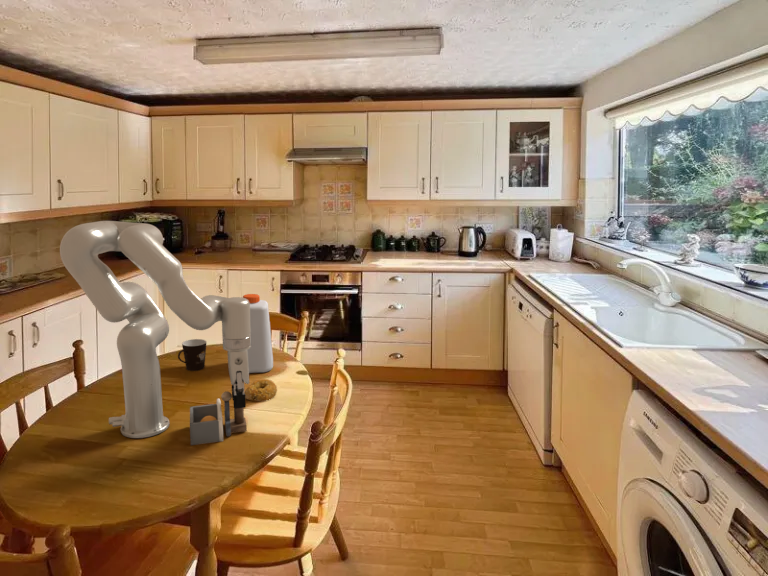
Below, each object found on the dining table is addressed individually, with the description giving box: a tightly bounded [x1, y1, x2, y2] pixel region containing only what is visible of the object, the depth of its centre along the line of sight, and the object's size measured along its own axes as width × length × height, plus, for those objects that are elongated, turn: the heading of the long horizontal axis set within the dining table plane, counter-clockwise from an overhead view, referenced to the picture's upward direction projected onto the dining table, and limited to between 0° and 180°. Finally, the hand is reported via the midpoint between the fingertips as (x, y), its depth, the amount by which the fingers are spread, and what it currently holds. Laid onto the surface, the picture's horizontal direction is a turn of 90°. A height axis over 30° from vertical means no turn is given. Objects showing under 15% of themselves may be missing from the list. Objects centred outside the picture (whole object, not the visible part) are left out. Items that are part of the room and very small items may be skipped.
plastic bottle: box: [242, 293, 274, 374], centre depth 196 cm, size 15×15×28 cm
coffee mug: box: [177, 338, 207, 372], centre depth 194 cm, size 12×9×10 cm
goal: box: [189, 397, 224, 446], centre depth 146 cm, size 8×12×8 cm
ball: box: [200, 416, 217, 422], centre depth 146 cm, size 5×5×5 cm
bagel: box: [244, 378, 278, 402], centre depth 172 cm, size 10×11×5 cm
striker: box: [221, 387, 248, 437], centre depth 148 cm, size 6×8×12 cm
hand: (238, 402), depth 148 cm, fingers open, 6 cm apart
